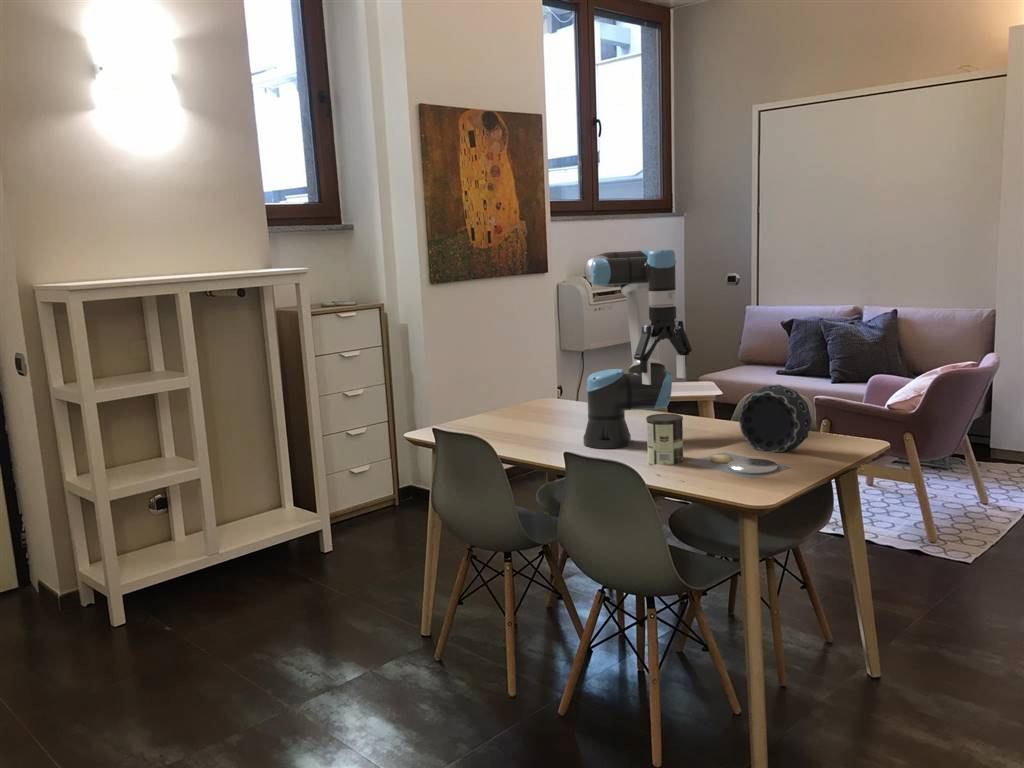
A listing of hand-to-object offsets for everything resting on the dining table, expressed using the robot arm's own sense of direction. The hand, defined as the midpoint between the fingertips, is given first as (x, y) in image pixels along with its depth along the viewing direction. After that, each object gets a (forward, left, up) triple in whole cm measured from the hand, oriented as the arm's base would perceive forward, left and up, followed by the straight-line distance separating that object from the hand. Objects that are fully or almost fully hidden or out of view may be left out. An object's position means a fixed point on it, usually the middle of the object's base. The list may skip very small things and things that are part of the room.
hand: (664, 381), depth 247 cm
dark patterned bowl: (+13, +32, -25) cm, 42 cm away
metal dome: (+23, +10, -23) cm, 34 cm away
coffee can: (0, 0, -25) cm, 25 cm away
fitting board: (+18, +10, -24) cm, 32 cm away
